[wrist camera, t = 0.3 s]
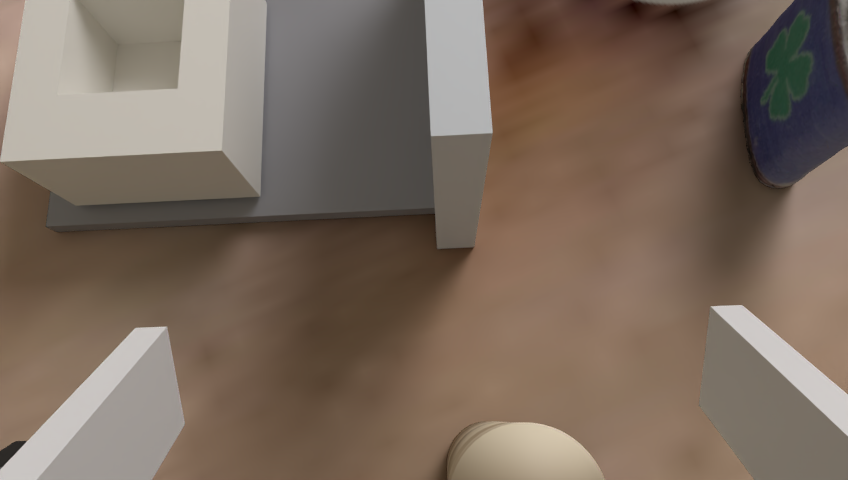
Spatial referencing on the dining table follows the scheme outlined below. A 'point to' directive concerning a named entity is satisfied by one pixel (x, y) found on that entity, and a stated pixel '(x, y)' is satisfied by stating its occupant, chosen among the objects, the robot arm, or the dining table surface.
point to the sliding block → (139, 99)
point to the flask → (797, 92)
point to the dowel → (518, 454)
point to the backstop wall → (353, 122)
